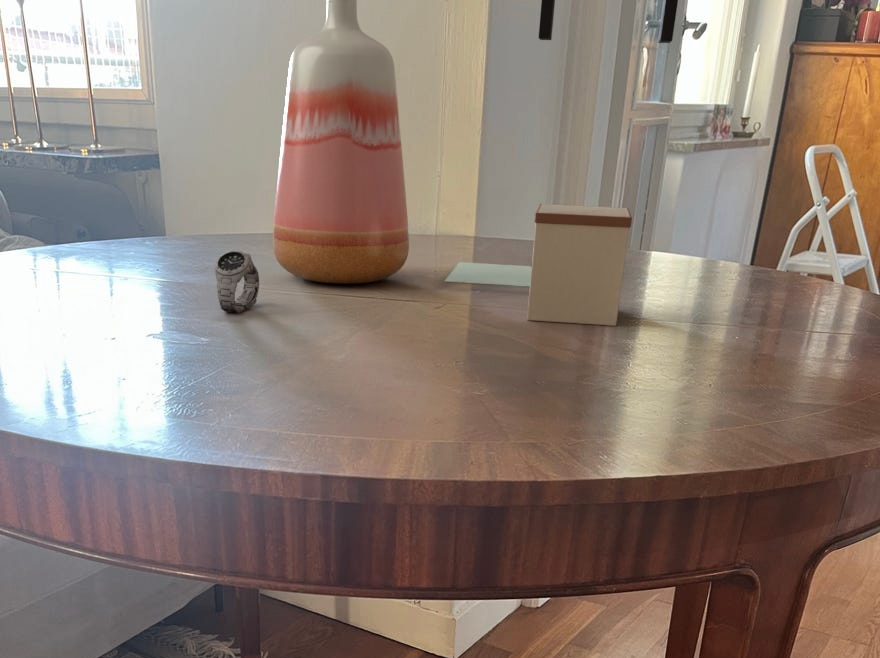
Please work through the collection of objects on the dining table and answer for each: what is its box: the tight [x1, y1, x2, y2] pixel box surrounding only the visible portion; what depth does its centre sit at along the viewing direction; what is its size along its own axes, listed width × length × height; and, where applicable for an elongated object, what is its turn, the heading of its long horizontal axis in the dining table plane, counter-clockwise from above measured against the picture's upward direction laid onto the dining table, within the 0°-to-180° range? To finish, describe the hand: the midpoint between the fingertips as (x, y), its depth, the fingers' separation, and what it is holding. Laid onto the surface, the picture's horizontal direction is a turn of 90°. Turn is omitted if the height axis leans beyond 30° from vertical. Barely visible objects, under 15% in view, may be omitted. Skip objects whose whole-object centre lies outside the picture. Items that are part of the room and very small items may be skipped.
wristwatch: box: [214, 250, 260, 314], centre depth 86 cm, size 4×6×5 cm, turn 164°
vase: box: [272, 0, 410, 285], centre depth 96 cm, size 14×14×30 cm
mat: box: [443, 261, 532, 288], centre depth 108 cm, size 18×14×1 cm
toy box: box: [526, 203, 633, 327], centre depth 87 cm, size 8×8×9 cm
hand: (604, 39), depth 64 cm, fingers open, 7 cm apart
